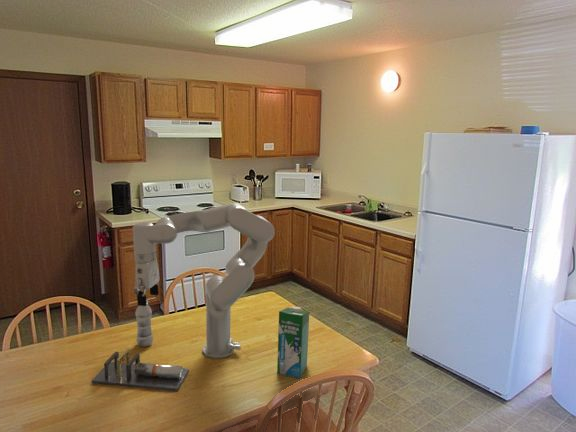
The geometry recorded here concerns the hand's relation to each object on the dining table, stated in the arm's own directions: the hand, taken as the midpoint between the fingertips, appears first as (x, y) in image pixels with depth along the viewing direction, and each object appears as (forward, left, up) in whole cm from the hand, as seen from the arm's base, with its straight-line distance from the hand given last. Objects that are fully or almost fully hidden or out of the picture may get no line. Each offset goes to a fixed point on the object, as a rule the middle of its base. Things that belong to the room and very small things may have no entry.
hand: (148, 299), depth 157 cm
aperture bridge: (+5, +11, -24) cm, 27 cm away
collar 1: (+10, +11, -24) cm, 28 cm away
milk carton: (-55, -2, -25) cm, 60 cm away
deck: (-1, +11, -25) cm, 27 cm away
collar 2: (+2, +11, -24) cm, 26 cm away
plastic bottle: (+7, -11, -25) cm, 29 cm away
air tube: (-8, +11, -24) cm, 27 cm away
